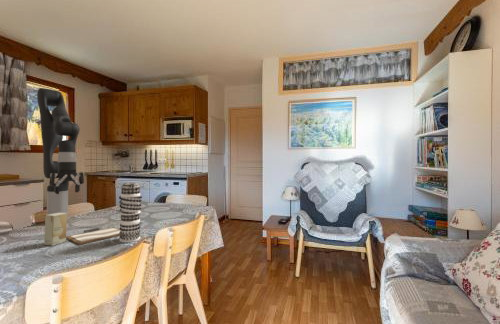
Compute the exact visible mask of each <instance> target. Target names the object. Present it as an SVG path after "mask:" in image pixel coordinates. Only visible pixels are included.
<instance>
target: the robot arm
mask: <svg viewBox="0 0 500 324" xmlns="http://www.w3.org/2000/svg"><path fill="white" fill-rule="evenodd" d="M36 93H37V94H36V97H37V104H38V111H39V116H40V133H41V134H40V135H41V141H42V152H43V154H42V157H43V159H42V160H43V162H42V163H43V167H42V168H43V170H42V171H43V175H44V177H45V178H46V179H49V181H48V182H49V185H48V186H47V187H46V215H49V214H54V213H67V223H68V221H69V187H70V186H69V185H70V182H73V183H74V187H75V188H74V192H75V193H79V192H80V190H81V187H80V186H81V185H82V184H84V182H85V180H84V179H85V178H84V172H81V171H80V172H77V154H76V145H77V144H76V143H77V141H78V140H77V139H78V137H79V134H80V129H81V128H80V126H79V124H78V123H76V122H72V120H71V117H70V115H69V113H68V112H67V108H66V103H65V102H66V101H65V99H64V96H63V93H62V92H61V91H59V90H56V89H50V88H44V87H40V88H39V89H38V90H37V92H36ZM49 107H53V109H52V111H50V110H49ZM64 136H66V137H69V138H68V139H65V140H63V139H64ZM57 148H58V155H57V161H56V160H54V161H53V157H54V156H53V155H54V154H55V152H56V149H57ZM77 177H78V179H77ZM55 179H57V180H56V181H55Z"/></svg>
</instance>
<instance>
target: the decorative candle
mask: <svg viewBox="0 0 500 324" xmlns="http://www.w3.org/2000/svg"><path fill="white" fill-rule="evenodd" d="M120 188H121V191H120V196H118V198H119V208H120V209H119V214H120V220H119V221H120V224H119V230H121V231H120V233H119V234H120V236H118V237H119V240H118V241H119V242H121V243H133V242H137V241H139V240H140V239H141V218H140V217H141V215H140V214H141V213H142V211H141V210H142V204H141V202H142V201H143V200H142V198H143V196H141V185H140V184H139V183H138V182H124V183H123V184H122V185H121V186H120Z"/></svg>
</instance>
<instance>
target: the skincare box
mask: <svg viewBox="0 0 500 324" xmlns="http://www.w3.org/2000/svg"><path fill="white" fill-rule="evenodd" d="M44 219H45V220H44V241H43V242H44V246H56V245H60V244H63V243H64V242H67V238H66V236H67V226H68V225H67V223H68V222H67V213H54V214H49V215H47V214H45V218H44Z"/></svg>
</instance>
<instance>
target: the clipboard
mask: <svg viewBox="0 0 500 324" xmlns="http://www.w3.org/2000/svg"><path fill="white" fill-rule="evenodd" d="M120 231H121V230H120V228H119V229H118V228H116V227H114V226H113V227H111V226H110V227H107V228H102V229H100V227H94V228H90V229H85V230H83V232H82V233H78V234H77V233H76V234H73V235H66V240H69V241H71V242H72V243H75V244H76V245H78V246H82V245H86V244H91V243H95V242H98V241H99V242H100V241H103V240H107V239H112V238H118V237H119V236H120V234H119V233H120Z"/></svg>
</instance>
